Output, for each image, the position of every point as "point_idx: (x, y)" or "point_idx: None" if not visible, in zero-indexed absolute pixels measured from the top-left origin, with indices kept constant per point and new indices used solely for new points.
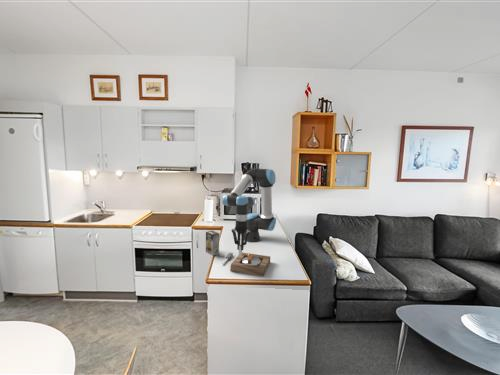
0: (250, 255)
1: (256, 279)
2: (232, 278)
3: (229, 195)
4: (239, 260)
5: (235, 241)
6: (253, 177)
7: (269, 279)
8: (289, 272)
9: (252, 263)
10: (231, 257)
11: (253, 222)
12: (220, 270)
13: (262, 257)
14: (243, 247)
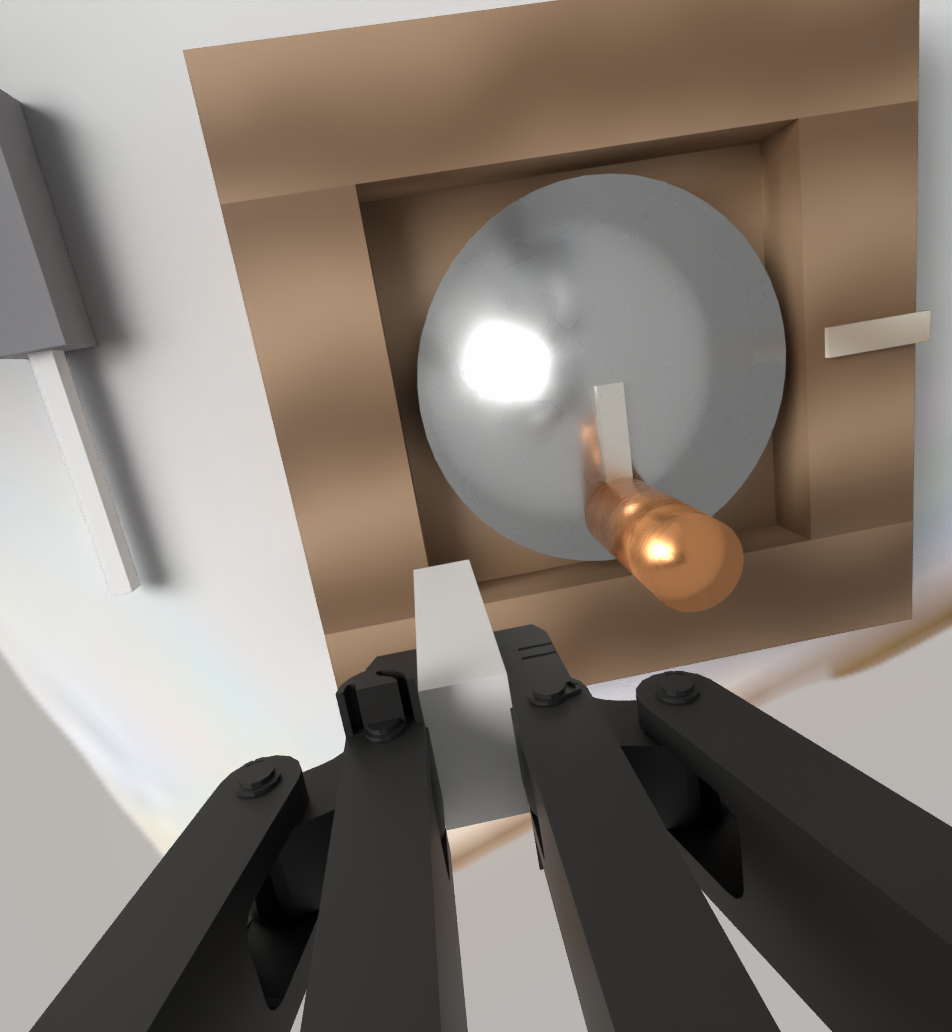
0: (724, 598)
1: (775, 692)
2: (490, 822)
3: None
4: (398, 502)
5: (271, 992)
6: None
7: (927, 609)
8: None
9: (672, 494)
10: (48, 193)
11: None
12: (216, 734)
13: (769, 110)
14: (560, 665)
